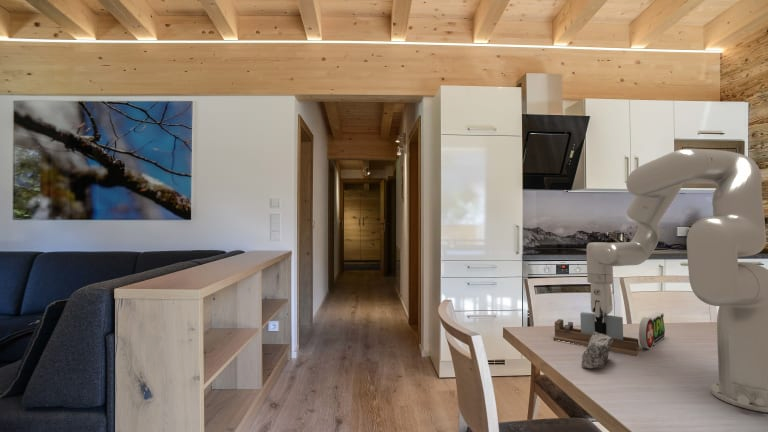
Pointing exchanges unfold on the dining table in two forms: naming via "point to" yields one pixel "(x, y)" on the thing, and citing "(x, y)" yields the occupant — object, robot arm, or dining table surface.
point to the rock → (596, 351)
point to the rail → (577, 337)
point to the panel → (612, 325)
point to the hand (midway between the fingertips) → (601, 332)
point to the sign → (651, 330)
